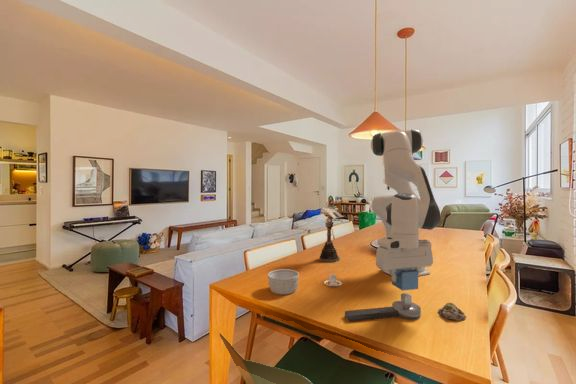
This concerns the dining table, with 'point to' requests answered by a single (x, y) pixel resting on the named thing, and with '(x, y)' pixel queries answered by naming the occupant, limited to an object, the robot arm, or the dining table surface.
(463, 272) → the dining table surface
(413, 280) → the slate grey cube
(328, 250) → the bird statue
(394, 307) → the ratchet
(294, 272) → the ramekin
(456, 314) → the mineral rock
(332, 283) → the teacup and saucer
